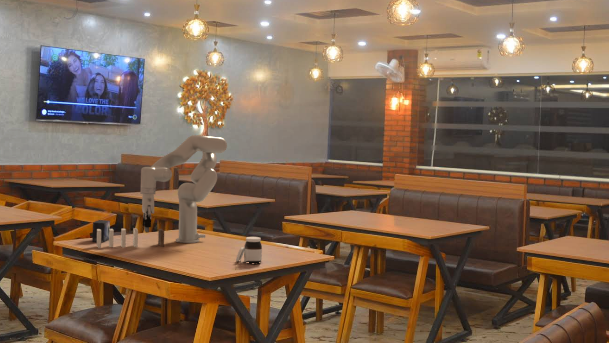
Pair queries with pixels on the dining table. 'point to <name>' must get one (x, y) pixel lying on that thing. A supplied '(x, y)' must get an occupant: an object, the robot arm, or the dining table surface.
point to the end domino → (146, 229)
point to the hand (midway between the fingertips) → (146, 226)
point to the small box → (104, 228)
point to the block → (161, 237)
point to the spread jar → (251, 250)
